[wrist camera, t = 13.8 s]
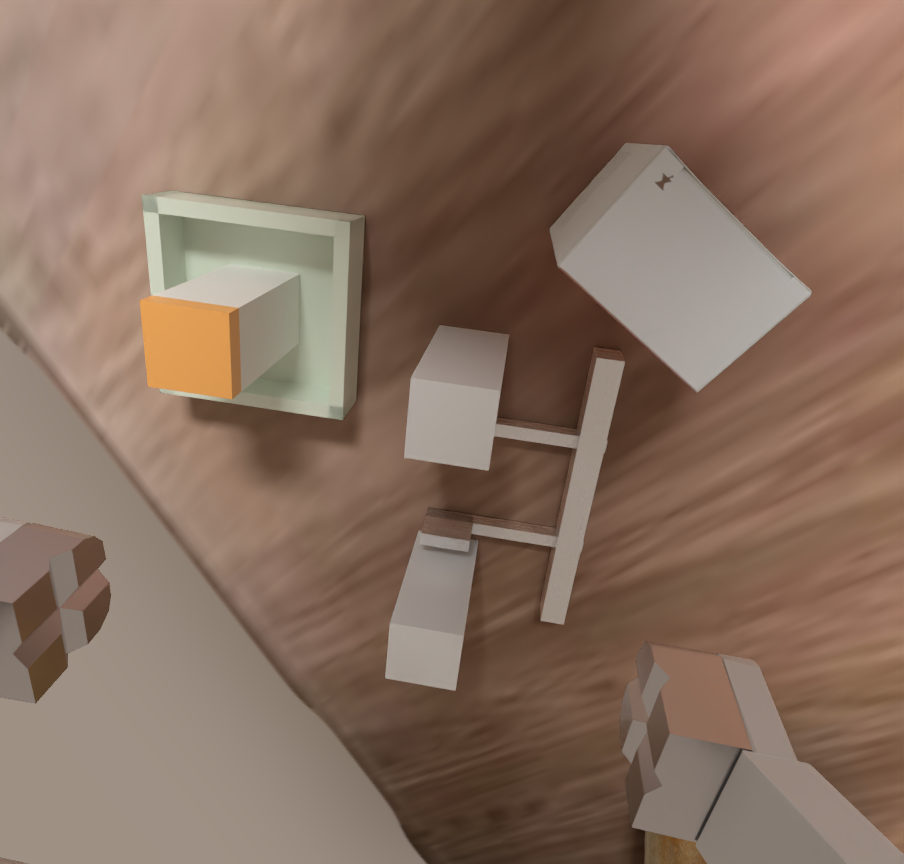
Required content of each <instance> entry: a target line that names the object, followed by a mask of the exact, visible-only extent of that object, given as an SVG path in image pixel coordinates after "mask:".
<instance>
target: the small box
mask: <svg viewBox="0 0 904 864" xmlns="http://www.w3.org/2000/svg"><path fill="white" fill-rule="evenodd" d="M550 235H551V240H552V244H553V249H554V253H555V257H556V262H557V267H558V268H559V269H560V270H561V271H562V272H564V273H565V274H566V275H567V276H568V277H569V278H570V279H571V280H572V281H573V282H574V283H576V284H577V285H578V286H579V287H580V288H581V289H582V290H583V291H584V292H585V293H587V294H588V295H589V296H590V297H591V298H592V299H593V300H594V301H595V302H596V303H597V304H598V305H600V306H601V307H602V308H603V309H604V310H605V311H606V312H607V313H608V314H609V315H611V316H612V317H613V318H614V319H615V320H616V321H617V322H618V323H619V324H620V325H622V326H623V327H624V328H625V329H626V330H627V331H628V332H629V333H630V334H631V335H632V336H634V337H635V338H636V339H637V340H638V341H639V342H640V343H641V344H642V345H643V346H645V347H646V348H647V349H648V350H649V351H650V352H651V353H652V354H653V355H654V356H656V357H657V358H658V359H659V360H660V361H661V362H662V363H663V364H664V365H665V366H667V367H668V368H669V369H670V370H671V371H672V372H673V373H674V374H675V375H676V376H677V377H679V378H680V379H681V380H682V381H683V382H684V383H685V384H686V385H687V386H689V387H690V388H691V389H692V390H693V391H694V392H695V393H697V392H699V391H700V390H701V389H702V388H704V387H705V386H706V385H707V384H708V383H709V382H711V381H712V380H713V379H714V378H715V377H717V376H718V375H719V374H720V373H721V372H722V371H724V370H725V369H726V368H727V367H728V366H729V365H731V364H732V363H733V362H734V361H735V360H736V359H738V358H739V357H740V356H741V355H742V354H743V353H745V352H746V351H747V350H748V349H749V348H750V347H752V346H753V345H754V344H755V343H756V342H757V341H759V340H760V339H761V338H762V337H763V336H764V335H766V334H767V333H768V332H769V331H770V330H771V329H773V328H774V327H775V326H776V325H777V324H778V323H780V322H781V321H782V320H783V319H784V318H785V317H787V316H788V315H789V314H790V313H791V312H792V311H794V310H795V309H796V308H797V307H798V306H799V305H801V304H802V303H803V302H804V301H805V300H806V299H808V298H809V297H810V296H811V293H812V291H811V290H810V288H809V287H807V286H806V285H805V284H804V283H803V282H801V281H800V280H799V279H798V278H797V277H796V276H795V275H794V274H793V273H791V272H790V271H789V270H788V269H787V268H786V267H785V266H784V265H783V264H782V263H781V262H780V261H779V260H778V259H777V258H776V257H775V256H774V255H773V254H772V253H771V252H770V251H769V250H768V249H767V248H766V247H765V246H764V245H763V244H762V243H761V242H760V241H759V240H758V239H757V238H756V237H755V236H754V235H753V234H752V233H751V232H750V231H749V230H748V229H747V228H746V227H745V226H744V225H743V224H742V223H741V222H740V221H739V220H738V219H737V218H736V217H735V216H734V215H733V214H732V213H731V212H730V211H729V210H728V209H727V208H726V207H725V206H724V205H723V204H722V203H721V202H720V201H719V200H718V199H717V198H716V197H715V196H714V195H713V194H712V193H711V192H710V191H709V190H708V189H707V188H706V187H705V186H704V185H703V184H702V183H701V181H700V180H699V179H698V178H697V177H696V176H695V175H694V174H693V173H692V172H691V170H690V169H689V168H688V167H687V166H686V165H685V164H684V163H683V162H682V160H681V159H680V158H679V157H678V156H677V155H676V154H675V153H674V151H673V150H672V149H671V148H670V147H669V146H667V145H652V144H638V143H625V144H624V145H623V146H622V148H621V149H620V150H619V151H618V152H617V153H616V155H615V156H614V157H613V158H612V159H611V160H610V161H609V162H608V163H607V165H606V166H605V167H604V168H603V169H602V170H601V171H600V172H599V173H598V175H597V176H596V177H595V178H594V179H593V180H592V181H591V182H590V184H589V185H588V186H587V187H586V188H585V189H584V190H583V191H582V193H581V194H580V195H579V196H578V197H577V198H576V199H575V200H574V202H573V203H572V204H571V205H570V206H569V207H568V208H567V209H566V210H565V212H564V213H563V214H562V215H561V216H560V217H559V218H558V219H557V221H556V222H555V223H554V224H553V225H552V226H551V227H550Z"/></svg>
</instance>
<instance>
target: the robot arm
mask: <svg viewBox="0 0 904 864" xmlns="http://www.w3.org/2000/svg"><path fill="white" fill-rule="evenodd" d="M105 560H106V557H105V551H104V546H103V541H101V540H99V539H98V538H96V537H95V536H91V535H86V534H82V533H77V532H72V531H68V530H63V529H58V528H54V527H49V526H45V525H40V524H35V523H32V524H31V523H27V522H23V521H18V520H14V519H9V518H5V517H1V518H0V697H1V698H7V699H13V700H18V701H24V702H30V703H36V702H37V701H38V700H39V699H40V698H41V697H42V696H43V695H44V694H45V692H46V691H47V690H48V689H49V688H50V687H51V685H52V684H53V683H54V682H55V681H56V680H57V679H58V678H59V676H60V675H61V674H62V673H63V672H64V671H65V670H66V669H67V667H68V653H70V652H72V651H74V650H76V649H78V648H81V647H83V646H85V645H87V644H88V643H89V642H90V641H91V640H92V638H93V637H94V636H95V635H96V634H97V633H98V631H99V630H100V629H101V626H102V624H103V622H104V620H105V618H106V616H107V613H108V611H109V605H110V598H111V593H110V585H109V582H108V581H107V579H106V578H105V577H104V576H103V575H102V573H101V572H100V571H99V569H98V568H99V567H100V566H101V564H102V563H103V562H104V561H105ZM636 666H637V672H638V677H637V678H636V679H634V680H632V681H631V682H629V683H628V684H627V687H626V691H625V694H624V697H623V700H622V707H621V715H620V740H621V749H622V752H623V754H624V755H625V756H626V757H627V759H628V760H629V761H630V763H631V766H630V769H629V772H628V775H627V777H626V780H625V782H626V790H627V797H628V805H629V813H630V820H631V827H632V828H637V829H641V830H645V831H649V832H654V833H658V834H662V835H666V836H670V837H675V838H679V839H683V840H687V841H692V842H696V845H695V846H696V848H697V849H698V851H699V852H700V854H701V855H702V857H703V859H704V860H705V862H706V863H707V864H904V854H903V853H902V852H901V851H900V850H899V849H898V848H897V847H896V846H894V845H893V844H892V843H891V842H890V841H889V840H888V839H887V838H886V837H885V836H884V835H883V834H882V833H881V832H880V831H879V830H878V829H877V828H876V827H875V826H874V825H873V824H872V823H871V822H870V821H868V820H867V819H866V818H865V817H864V816H863V815H862V814H861V813H860V812H859V811H858V810H857V809H856V808H855V807H854V806H853V805H852V804H851V803H850V802H849V801H848V800H847V799H846V798H845V797H844V796H843V795H841V794H840V793H839V792H838V791H837V790H836V789H835V788H834V787H833V786H832V785H831V784H830V783H829V782H828V781H827V780H826V779H825V778H824V777H823V776H822V775H821V774H820V773H819V772H818V771H817V770H815V769H814V768H813V767H812V766H811V765H810V764H809V763H804V762H800V761H798V760H797V758H796V756H795V753H794V751H793V748H792V746H791V743H790V741H789V738H788V736H787V733H786V731H785V728H784V726H783V724H782V721H781V719H780V716H779V714H778V711H777V709H776V706H775V704H774V701H773V699H772V696H771V694H770V692H769V689H768V687H767V684H766V682H765V679H764V677H763V674H762V672H761V669H760V667H759V665H758V664H757V663H756V662H755V661H754V660H752V659H747V658H741V657H735V656H729V655H723V654H713V653H708V652H703V651H697V650H692V649H686V648H681V647H676V646H670V645H665V644H659V643H654V642H648V641H645V642H644V644H643V645H642V646H641V648H640V650H639V653H638V656H637V659H636ZM0 864H28V863H23V862H19V861H14V860H10V859H6V858H1V857H0Z"/></svg>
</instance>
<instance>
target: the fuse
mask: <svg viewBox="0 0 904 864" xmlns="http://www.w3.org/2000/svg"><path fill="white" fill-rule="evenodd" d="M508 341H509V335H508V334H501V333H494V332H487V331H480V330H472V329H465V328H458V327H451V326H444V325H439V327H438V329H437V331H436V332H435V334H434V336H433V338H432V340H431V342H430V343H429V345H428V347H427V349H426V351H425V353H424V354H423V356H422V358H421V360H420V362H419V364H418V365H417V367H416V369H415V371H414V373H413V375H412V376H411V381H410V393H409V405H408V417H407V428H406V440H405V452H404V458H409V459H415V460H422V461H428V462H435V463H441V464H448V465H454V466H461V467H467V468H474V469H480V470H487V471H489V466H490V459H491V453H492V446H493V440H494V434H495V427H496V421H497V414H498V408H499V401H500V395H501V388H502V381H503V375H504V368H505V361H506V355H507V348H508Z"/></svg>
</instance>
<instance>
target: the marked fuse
mask: <svg viewBox="0 0 904 864" xmlns="http://www.w3.org/2000/svg"><path fill="white" fill-rule="evenodd" d="M140 308H141V318H142V328H143V339H144V349H145V359H146V369H147V380H148V387H155V388H161V389H168V390H174V391H181V392H187V393H194V394H200V395H207V396H213V397H220V398H226V399H233V398H235V397H236V396H237V395H238V394H239V393H240V392H242V391H243V390H244V389H245V388H246V387H248V386H249V385H250V384H251V383H252V382H253V381H255V380H256V379H257V378H258V377H259V376H261V375H262V374H263V373H264V372H265V371H266V370H268V369H269V368H270V367H271V366H272V365H274V364H275V363H276V362H277V361H278V360H279V359H281V358H282V357H283V356H284V355H285V354H287V353H288V352H289V351H290V350H291V349H292V348H294V347H295V346H296V345H297V344H298V343H299V308H300V274H298V273H291V272H284V271H276V270H269V269H262V268H255V267H248V266H241V265H233V264H229V265H227V266H224V267H222V268H219V269H217V270H214V271H212V272H209V273H207V274H204V275H202V276H199V277H197V278H194V279H192V280H189V281H187V282H185V283H182V284H180V285H177V286H175V287H172V288H170V289H167V290H165V291H162V292H160V293H157V294H155V295H152V296H150V297H147V298H145V299H142V300H140Z"/></svg>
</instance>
